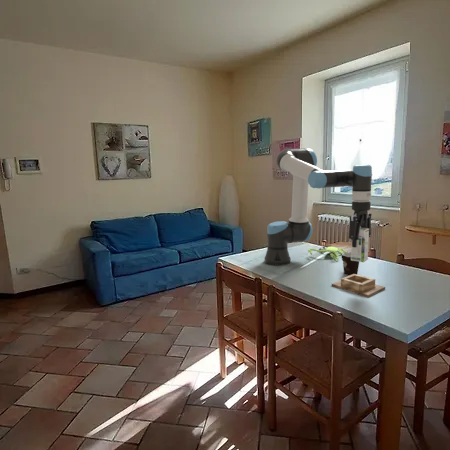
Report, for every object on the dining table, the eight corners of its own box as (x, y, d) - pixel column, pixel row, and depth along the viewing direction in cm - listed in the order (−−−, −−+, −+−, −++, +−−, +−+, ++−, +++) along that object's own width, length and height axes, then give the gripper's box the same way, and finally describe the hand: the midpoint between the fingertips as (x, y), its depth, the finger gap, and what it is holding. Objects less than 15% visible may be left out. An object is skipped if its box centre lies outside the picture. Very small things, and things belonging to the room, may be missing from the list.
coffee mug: (361, 276, 163) (362, 257, 162) (342, 276, 165) (343, 256, 163) (356, 269, 174) (357, 251, 173) (339, 269, 176) (340, 250, 174)
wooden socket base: (331, 285, 152) (331, 277, 152) (348, 279, 160) (349, 271, 160) (368, 297, 138) (368, 288, 137) (385, 289, 146) (385, 280, 146)
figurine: (304, 258, 199) (304, 250, 198) (322, 249, 219) (322, 241, 218) (334, 263, 187) (335, 254, 186) (350, 253, 208) (350, 244, 207)
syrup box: (350, 260, 147) (351, 228, 144) (355, 257, 151) (356, 226, 148) (363, 262, 143) (364, 229, 140) (368, 259, 147) (369, 227, 144)
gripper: (356, 203, 134) (355, 258, 138) (381, 199, 145) (378, 250, 149) (340, 202, 140) (339, 255, 144) (365, 198, 151) (363, 247, 155)
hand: (359, 252), depth 146 cm, fingers closed on syrup box, 6 cm apart
